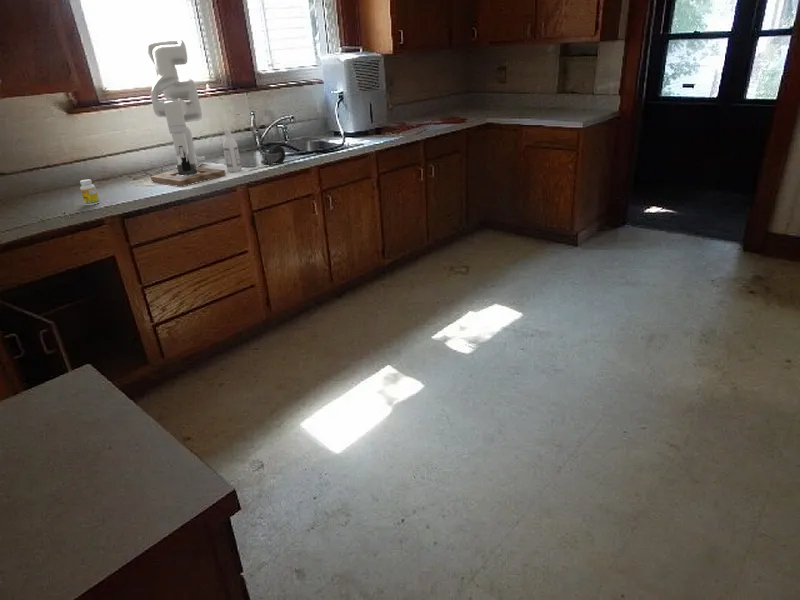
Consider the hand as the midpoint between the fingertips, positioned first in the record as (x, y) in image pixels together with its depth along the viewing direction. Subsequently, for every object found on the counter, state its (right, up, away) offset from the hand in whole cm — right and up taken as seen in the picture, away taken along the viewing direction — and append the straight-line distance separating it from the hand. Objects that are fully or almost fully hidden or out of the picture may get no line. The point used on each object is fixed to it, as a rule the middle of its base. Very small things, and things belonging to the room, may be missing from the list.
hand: (187, 169), depth 249 cm
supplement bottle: (-25, -22, -34) cm, 47 cm away
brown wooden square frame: (0, -4, +2) cm, 4 cm away
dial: (0, -4, +2) cm, 4 cm away
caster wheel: (+36, +8, +22) cm, 43 cm away
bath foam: (+19, +2, +13) cm, 23 cm away
